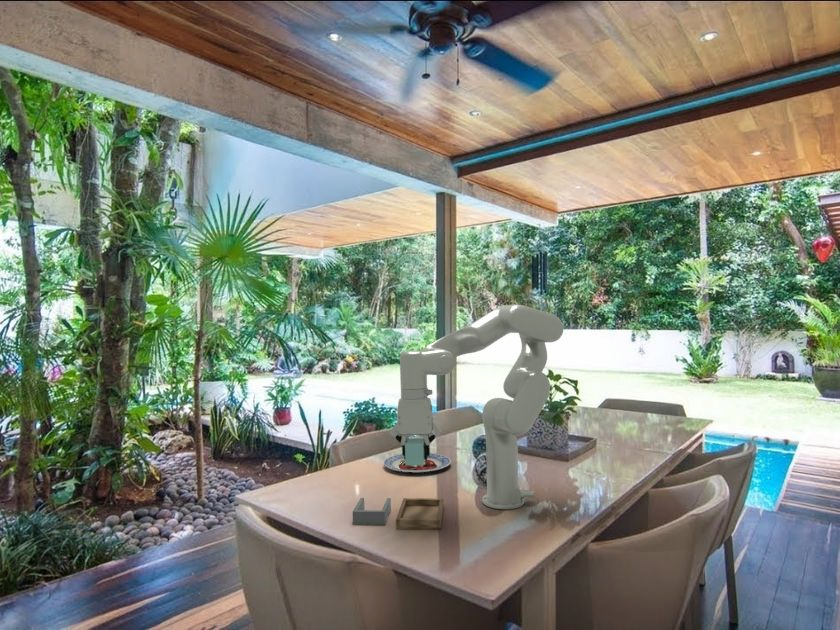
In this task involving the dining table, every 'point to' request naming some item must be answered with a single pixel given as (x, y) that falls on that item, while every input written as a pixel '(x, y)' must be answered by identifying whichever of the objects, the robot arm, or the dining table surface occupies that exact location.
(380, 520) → the bay
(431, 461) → the ceramic plate
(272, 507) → the dining table surface
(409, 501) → the tray
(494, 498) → the robot arm
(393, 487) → the dining table surface
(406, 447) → the mint green block
